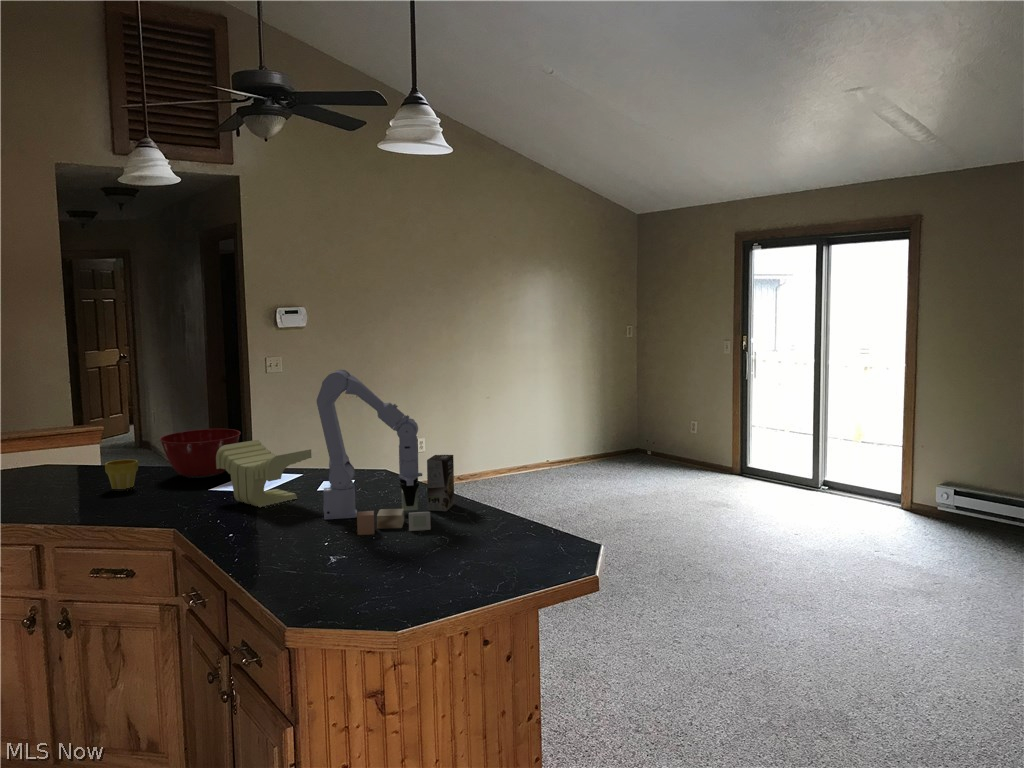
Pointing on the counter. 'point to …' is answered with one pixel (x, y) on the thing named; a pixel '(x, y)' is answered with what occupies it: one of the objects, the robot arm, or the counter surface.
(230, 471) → the slatted curved stool
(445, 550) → the counter surface
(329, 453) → the robot arm
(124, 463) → the plant pot
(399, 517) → the birch base block
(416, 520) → the placard
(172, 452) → the mixing bowl
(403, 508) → the sage block
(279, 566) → the counter surface
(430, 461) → the coffee box
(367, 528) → the terracotta block
